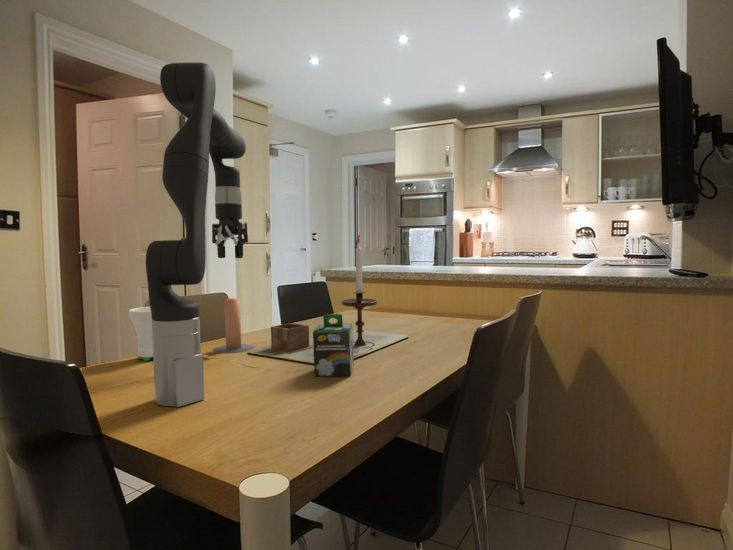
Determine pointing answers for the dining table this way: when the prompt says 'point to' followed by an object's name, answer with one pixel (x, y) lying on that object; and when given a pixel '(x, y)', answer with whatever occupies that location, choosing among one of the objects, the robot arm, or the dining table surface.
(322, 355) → the chalk box
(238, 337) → the dowel
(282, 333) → the open wooden box
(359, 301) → the candlestick
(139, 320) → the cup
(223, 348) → the coaster
